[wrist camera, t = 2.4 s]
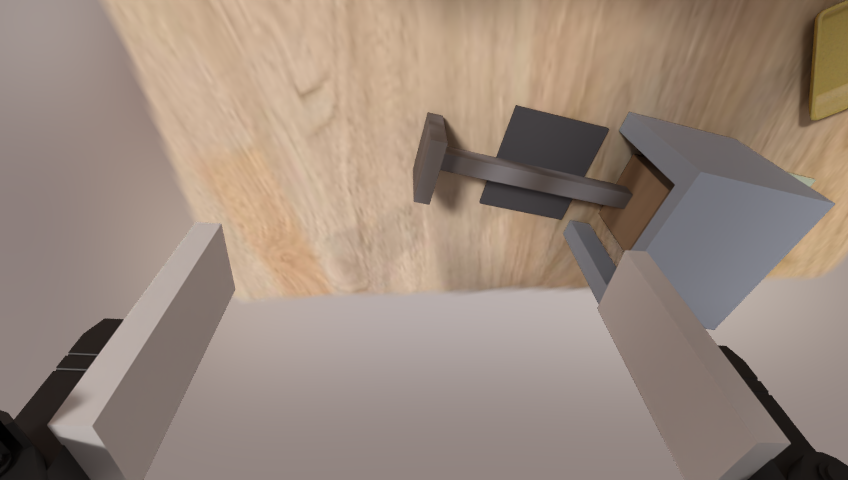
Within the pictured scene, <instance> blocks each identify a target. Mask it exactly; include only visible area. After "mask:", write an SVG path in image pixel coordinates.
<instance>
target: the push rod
mask: <svg viewBox="0 0 848 480" xmlns="http://www.w3.org/2000/svg"><path fill="white" fill-rule="evenodd" d="M447 144H448V142H447V136H446V131H445V126H444V120H443V116H441V115H437V114H433V113H427V117H426V121H425V125H424V129H423V133H422V137H421V140H420V144H419V148H418V152H417V156H416V160H415V164H414V168H413V191H414V202H418V203H423V204H428V205H429V204H430V201H431V198H432V194H433V191H434V188H435V184H436V181H437V178H438V174H439V171H440V170H442V171H447V172H452V173H457V174H461V175H466V176H471V177H475V178H480V179H485V180H490V181H494V182H499V183H504V184H508V185H513V186H518V187H523V188H527V189H532V190H537V191H541V192H546V193H551V194H555V195H560V196H565V197H570V198H574V199H579V200H584V201H588V202H593V203H598V204H603V207H602V209H601V210H600V212H599V214H600V216H601V217H602V219H603V220H604V222H605V223H606V225H607V226H608V228H609V229H610V231H611V232H612V234H613V235H614V237H615V238H616V240H617V241H618V243H619V244H620V246H621V247H622V249H623V250H624V252H625V250H631V249H632V248H633V246H634V245H635V243H636V242H637V240H638V239H639V238H640V236H641V235H642V233H643V232H644V230H645V229H646V227H647V226H648V224H649V223H650V221H651V220H652V218H653V217H654V215H655V214H656V212H657V211H658V210H659V208H660V207H661V205H662V204H663V202H664V201H665V199H666V198H667V196H668V195H669V193H670V192H671V190H672V189H673V187H674V186H675V184H674V183H673V182H672V181H671V180H670V179H669V178H667V177H666V176H665V175H664V174H663V173H662V172H661V171H660V170H659V169H658V168H657V167H656V166H655V165H654V164H653V163H652V162H651V161H650V160H649V159H648V158H646V157H641V156H637V155H633V156H632V157H631V159H630V161H629V163H628V164H627V166H626V168H625V169H624V171H623V173H622V175H621V176H620V178H619V180H618V181H617V183H616V184H613V183H608V182H604V181H599V180H595V179H591V178H586V177H582V176H577V175H573V174H568V173H564V172H559V171H555V170H550V169H546V168H541V167H537V166H532V165H528V164H523V163H519V162H514V161H510V160H505V159H501V158H496V157H492V156H487V155H483V154H478V153H474V152H469V151H465V150H460V149H456V148H451V147H447Z"/></svg>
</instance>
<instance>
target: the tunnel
mask: <svg viewBox="0 0 848 480" xmlns="http://www.w3.org/2000/svg"><path fill="white" fill-rule="evenodd" d="M619 131H620V132H621V133H622V134H623V135H624V136H625V137H626V138H627V139H628V140H629V141H630V142H631V143H632V144H633V145H634V146H635V147H636V148H637V149H639V150H640V151H641V152H642V153H643V154H644V155H645V156H646V157H647V158H648V159H649V160H650V161H651V162H652V163H653V164H654V165H655V166H656V167H657V168H658V169H659V170H660V171H661V172H662V173H663V174H664V175H665V176H666V177H667V178H669V179H670V180H671V181H672V182H673V183H674V184H675V186H674V187H673V189H672V190H671V192H670V193H669V195H668V196H667V198H666V199H665V201H664V202H663V204H662V205H661V207H660V208H659V210H658V211H657V212H656V214H655V215H654V217H653V218H652V220H651V221H650V223H649V224H648V226H647V227H646V229H645V230H644V232H643V233H642V235H641V236H640V238H639V239H638V240H637V242H636V243H635V245H634V246H633V248H632V249H631V251H647V252H648V254H649V255H650V256H651V258H652V259H653V260H654V262H655V263H656V264H657V266H658V267H659V268H660V270H661V271H662V272H663V274H664V275H665V276H666V278H667V279H668V280H669V282H670V283H671V284H672V286H673V287H674V288H675V290H676V291H677V292H678V294H679V295H680V296H681V298H682V299H683V300H684V302H685V303H686V304H687V306H688V307H689V308H690V310H691V311H692V312H693V314H694V315H695V316H696V318H697V319H698V320H699V322H700V323H701V324H702V326H703V327H704V328H705V329H711V330H715V328H716V327H717V326H718V325H719V324H720V323H721V322H722V321H723V320H724V319H725V318H726V317H727V316H728V315H729V314H730V313H731V312H732V311H733V310H734V309H735V308H736V307H737V306H738V305H739V304H740V303H741V302H742V300H743V299H744V298H745V297H746V296H747V295H748V294H749V293H750V292H751V291H752V290H753V289H754V288H755V287H756V286H757V285H758V284H759V283H760V282H761V281H762V280H763V279H764V278H765V277H766V275H767V274H768V273H769V272H770V271H771V270H772V269H773V268H774V267H775V266H776V265H777V264H778V263H779V262H780V261H781V260H782V259H783V258H784V257H785V256H786V255H787V254H788V253H789V252H790V251H791V249H792V248H793V247H794V246H795V245H796V244H797V243H798V242H799V241H800V240H801V239H802V238H803V237H804V236H805V235H806V234H807V233H808V232H809V231H810V230H811V229H812V228H813V227H814V226H815V225H816V223H817V222H818V221H819V220H820V219H821V218H822V217H823V216H824V215H825V214H826V213H827V212H828V211H829V210H830V209H831V208H832V207H833V206H834V205H835V203H833V202H832V201H830V200H829V199H827V198H826V197H824V196H823V195H821V194H820V193H818V192H816V191H815V190H813V189H812V188H810V187H809V186H807V185H806V184H804V183H803V182H801V181H800V180H798V179H796V178H795V177H793V176H792V175H790V174H789V173H787V172H786V171H784V170H783V169H781V168H779V167H778V166H776V165H775V164H773V163H772V162H770V161H769V160H767V159H766V158H764V157H762V156H761V155H759V154H758V153H756V152H755V151H753V150H752V149H750V148H749V147H747V146H746V145H744V144H742V143H741V142H739V141H738V140H736V139H733V138H729V137H725V136H721V135H717V134H713V133H710V132H706V131H702V130H698V129H694V128H690V127H686V126H682V125H678V124H674V123H671V122H667V121H663V120H659V119H655V118H651V117H647V116H643V115H639V114H636V113H632V112H629V113H628V115H627V117H626V119H625V121H624V122H623V124H622V126H621V128H620V130H619ZM563 235H564V237H565V239H566V241H567V243H568V245H569V247H570V249H571V251H572V253H573V254H574V256H575V258H576V260H577V262H578V264H579V266H580V268H581V270H582V272H583V274H584V276H585V278H586V280H587V282H588V284H589V286H590V288H591V290H592V292H593V294H594V296H595V298H596V300H597V302H598V304H599V303H600V301H601V299H602V297H603V295H604V293H605V291H606V289H607V287H608V285H609V283H610V281H611V279H612V276H613V274H614V272H615V270H616V266H615V265H614V263H613V261H612V260H611V258H610V257H609V255H608V253H607V252H606V250H605V248H604V247H603V245H602V243H601V242H600V240H599V239H598V237H597V235H596V234H595V232H594V230H593V229H592V227H591V225H590V224H587V223H582V222H577V221H572V220H570V222H569V224H568V225H567V227H566V229H565V231H564V233H563Z"/></svg>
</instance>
